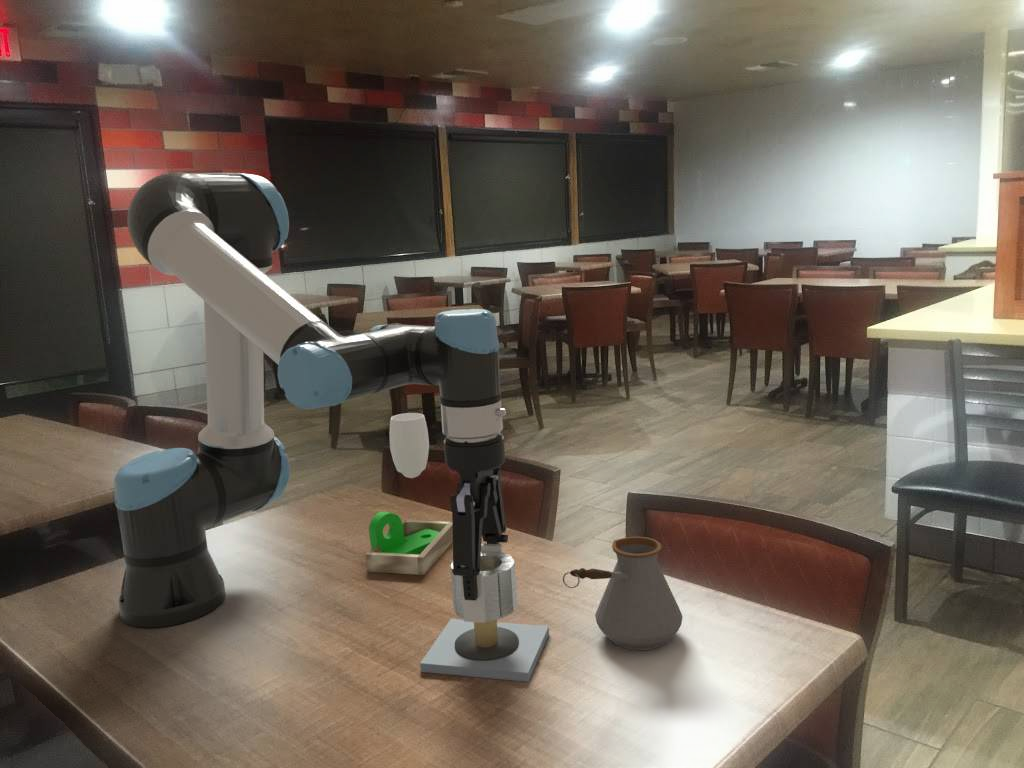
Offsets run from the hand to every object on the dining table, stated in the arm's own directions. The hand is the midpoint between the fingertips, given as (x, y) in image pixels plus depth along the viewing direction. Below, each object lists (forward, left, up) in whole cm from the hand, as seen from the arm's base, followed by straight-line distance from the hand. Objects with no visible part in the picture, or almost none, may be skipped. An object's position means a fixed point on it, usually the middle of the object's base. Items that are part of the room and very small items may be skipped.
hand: (485, 604), depth 109 cm
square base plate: (0, 0, -7) cm, 7 cm away
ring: (0, 0, 0) cm, 0 cm away
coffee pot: (+17, +3, -7) cm, 19 cm away
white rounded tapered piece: (-27, +44, -7) cm, 52 cm away
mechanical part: (-22, +30, -7) cm, 38 cm away
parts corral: (-22, +30, -7) cm, 38 cm away
